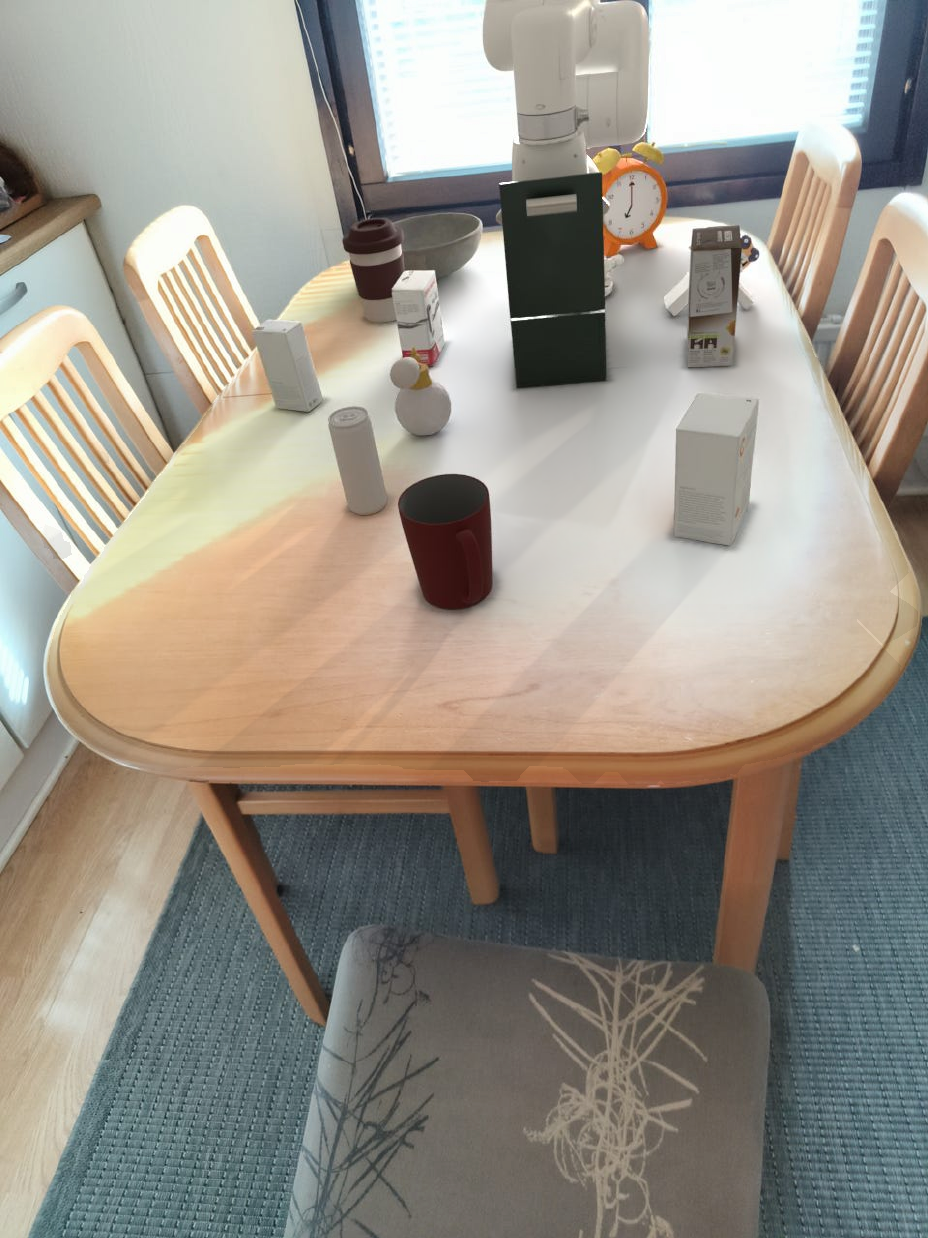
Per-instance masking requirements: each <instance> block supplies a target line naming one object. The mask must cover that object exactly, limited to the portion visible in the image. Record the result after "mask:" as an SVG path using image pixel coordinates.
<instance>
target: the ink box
mask: <svg viewBox="0 0 928 1238" xmlns="http://www.w3.org/2000/svg"><path fill="white" fill-rule="evenodd" d="M392 290H393V291H392V297H393V302H394V308H395V314H396V320H395V321H396V326H397V331H398V337H399V343H400V344H399V345H400V349H401V354H402V358H404V357H411V355H412V353H411V351H412V347H415V349H416V351H417V354H419V356H420V360H419V363H423V364H426V365H427V366H428V367H433V366H435V363H436V362H437V360H438V358H439V355H440V353H442V350H443V349H444V346H445V344H446V341H445V334H444V327H443V319H442V314H441V313H442V312H441V306H440V299H439V291H438V284H437V279H436V276H435V270H430V271H404V272H403V274H402V275H401V276H400V278H399V279H398V281H397V282H396V284H395V285H394V287H393V288H392Z"/></svg>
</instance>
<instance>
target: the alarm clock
mask: <svg viewBox="0 0 928 1238" xmlns="http://www.w3.org/2000/svg"><path fill="white" fill-rule="evenodd" d="M645 137H646V136H645V133H644V134H643V142H642V141H641V142H638V143H637V144H635V146H634V147H633V148H632V149H631V150H632V151H633V152H635V153H637V154H638V155H641V156H643V157H644V160H643V162H642V161H640V160H639V159H636V158H633V153H632V152H628V153H622V154H621V153H620V152H619V151H618V150H617V149H615V148H610V146H607V148H606V149H603V150H602V151H599V152H597V155H596V156H594V157H593V159H591V160H592V162H593V163H594V164H595V166H596V168H597V170H598V172H602V188H603V197H604V198H605V199H606V200H607V201H608V202H609V206H610V209H609V210H608V212H607V213H606V214H605V215H604V216H603V231H604V255H605V256H606V257H607V258H610V257H613V256H615V255H617V254H619V251H620V249H621V247H622V246H631V245H635V244H638V243H639V244H640V245H642V246H643V247H644V248H646V250H650V249H654V248H658V247H659V245H658V243H657V241H656V238H655V236H654V232H655V231H656V230H657V229H658V227H659V226H660V225H661V224H662V222H663V219H664V216H665V214H666V213H667V206H668V201H669V200H668V198H669V197H668V189H667V185H666V183H665V181H664V178H663V177H662V175H661V174H660V173H659V172H658V171H657V170H656V169H655V168H653V167H651V165H648V164H647V162H648V160H650V161H653V162H654V163H657V164H659V165H663V163H664V153H663V152H662V150H660V149H659V148H657V147H655V145H656V142H655V141H652V142H651V143H650V142H648V141H646V138H645Z"/></svg>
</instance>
